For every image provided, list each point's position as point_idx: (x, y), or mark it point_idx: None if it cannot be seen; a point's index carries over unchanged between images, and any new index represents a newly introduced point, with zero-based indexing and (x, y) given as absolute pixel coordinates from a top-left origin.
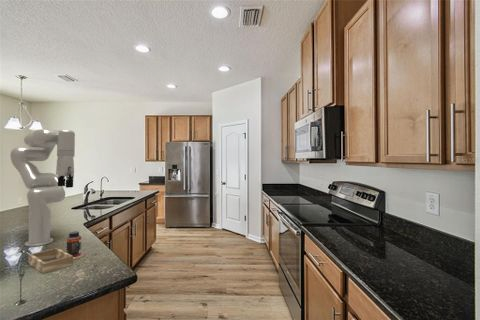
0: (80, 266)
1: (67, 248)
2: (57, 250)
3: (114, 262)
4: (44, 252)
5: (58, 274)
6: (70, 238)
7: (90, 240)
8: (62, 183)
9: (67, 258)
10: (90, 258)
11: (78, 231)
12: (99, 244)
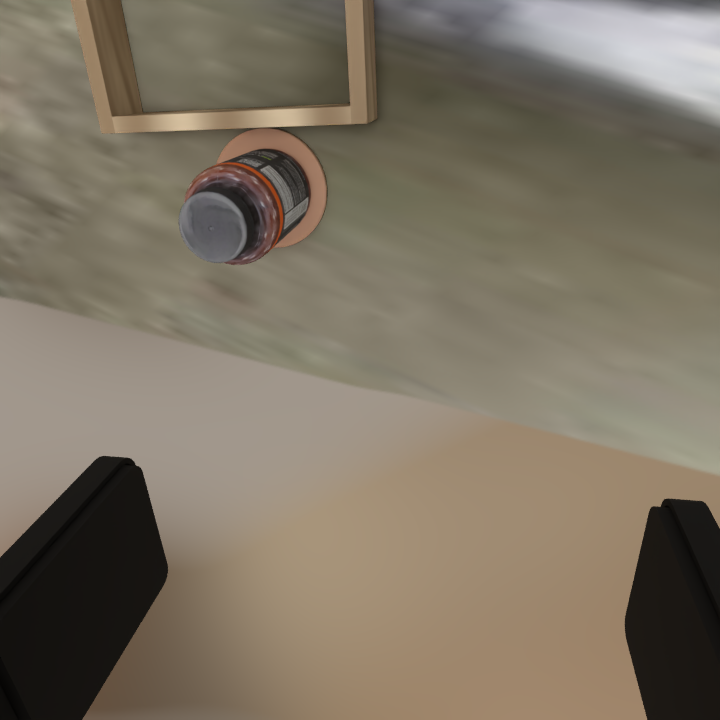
0: (83, 147)
1: (243, 155)
2: (311, 108)
3: (36, 286)
4: (347, 24)
5: (33, 12)
6: (197, 181)
7: (539, 399)
8: (651, 648)
9: (98, 96)
10: (175, 238)
11: (213, 261)
12: (396, 388)
